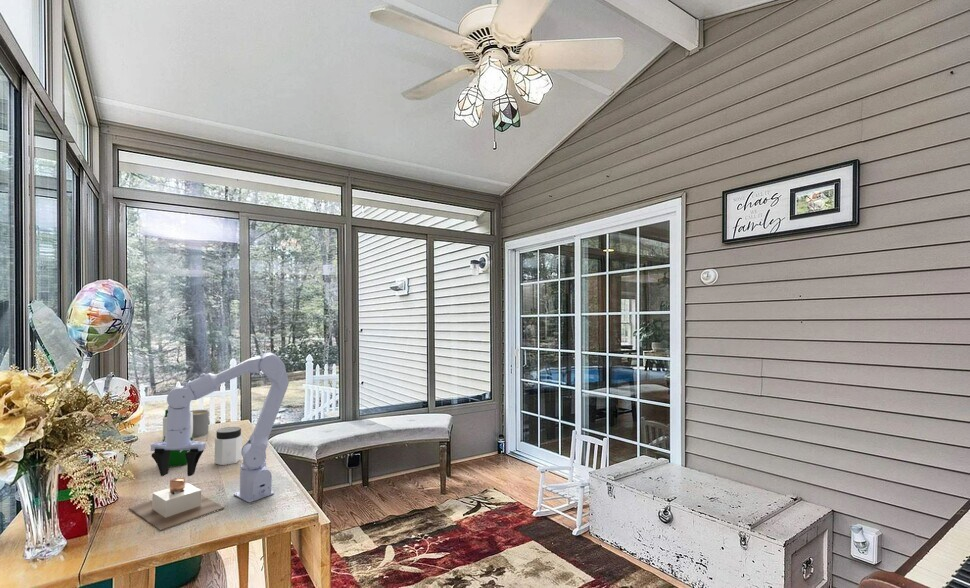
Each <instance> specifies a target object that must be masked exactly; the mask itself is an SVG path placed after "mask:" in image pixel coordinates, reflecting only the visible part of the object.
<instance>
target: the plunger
mask: <svg viewBox="0 0 970 588" xmlns="http://www.w3.org/2000/svg"><path fill="white" fill-rule="evenodd" d="M185 480H186V478H185V477H176V478H173V479H170V481H169V488H170V491H174V494H177V493H180V490H182V489H184V488H185V483H186V481H185Z"/></svg>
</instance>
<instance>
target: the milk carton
mask: <svg viewBox="0 0 970 588" xmlns="http://www.w3.org/2000/svg"><path fill="white" fill-rule="evenodd" d="M164 412H165V413H164V414H165V415H164V416H163V418H162V442H167V413H168V408H167V409H165V410H164ZM190 441H194V437H193V412H191V423H190ZM189 451H190V450H171V453H170V457H169V467H170V466H172V467H179V466H187V460H186V456H185V453H187V452H189ZM170 468H171V467H170Z"/></svg>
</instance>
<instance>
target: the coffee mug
mask: <svg viewBox="0 0 970 588" xmlns="http://www.w3.org/2000/svg"><path fill="white" fill-rule="evenodd" d="M190 411H191V412H193V438H199V437H203V436H206V435H208V434H209V423H210V419H209V418H210V410H208V409H194V410H190Z"/></svg>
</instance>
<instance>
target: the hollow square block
mask: <svg viewBox="0 0 970 588" xmlns="http://www.w3.org/2000/svg"><path fill="white" fill-rule="evenodd" d="M201 495H202V489H201V488H199V487H197V486H194V485H192V484H190V483H189V482H185V488H184V489H182V490H180V493H177V494H174V491H170V487H168V488H164V489H161V490H158V491H155V492H152V499H151V501H152V509H153V510H155V511H156V512H158V513H159V514H161V515H162V516H164V517H165V518H166V517H169V516H172V515H175V514H178V513H181V512H184V511H187V510H190V509H193V508H196V507H199V506H201Z"/></svg>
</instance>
